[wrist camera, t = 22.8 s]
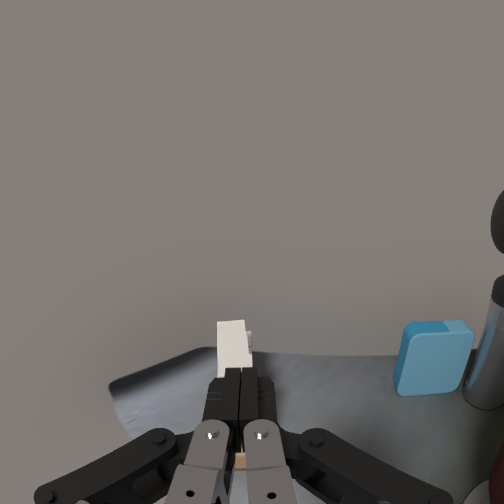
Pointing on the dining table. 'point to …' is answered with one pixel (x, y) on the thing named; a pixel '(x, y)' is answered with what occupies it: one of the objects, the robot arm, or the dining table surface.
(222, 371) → the tile
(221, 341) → the tile
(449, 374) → the data package
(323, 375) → the dining table surface
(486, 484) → the mate gourd
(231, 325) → the white domino block
